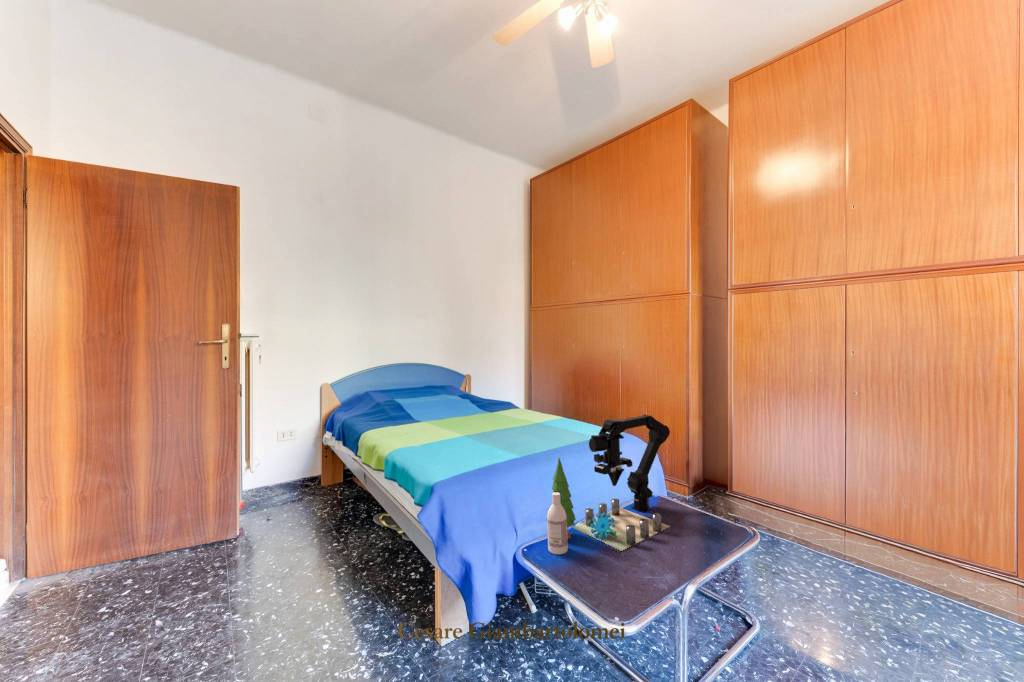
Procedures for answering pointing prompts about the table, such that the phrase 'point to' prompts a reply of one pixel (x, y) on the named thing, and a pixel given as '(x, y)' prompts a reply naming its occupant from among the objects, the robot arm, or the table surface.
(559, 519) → the bath foam
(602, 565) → the table surface
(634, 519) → the board
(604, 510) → the spacer posts
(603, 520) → the gear
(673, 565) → the table surface
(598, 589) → the table surface
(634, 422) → the robot arm
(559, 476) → the decorative tree
